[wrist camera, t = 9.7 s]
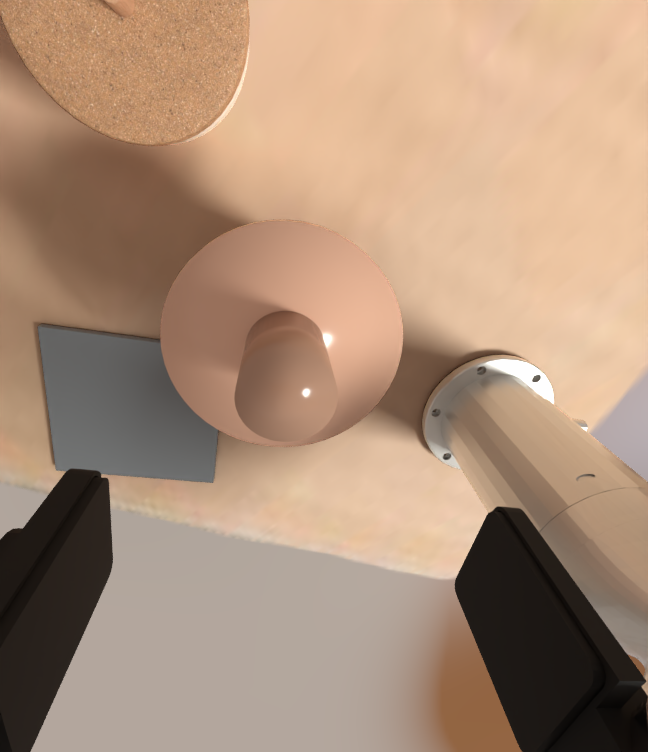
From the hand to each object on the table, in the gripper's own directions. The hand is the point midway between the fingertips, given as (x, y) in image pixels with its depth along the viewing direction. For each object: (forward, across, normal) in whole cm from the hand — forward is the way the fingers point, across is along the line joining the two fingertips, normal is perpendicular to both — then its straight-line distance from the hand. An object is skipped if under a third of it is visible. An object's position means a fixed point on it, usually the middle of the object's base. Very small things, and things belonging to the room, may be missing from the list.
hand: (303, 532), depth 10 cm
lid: (+12, 0, 0) cm, 12 cm away
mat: (+24, +12, +13) cm, 30 cm away
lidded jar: (+24, +10, -13) cm, 29 cm away
